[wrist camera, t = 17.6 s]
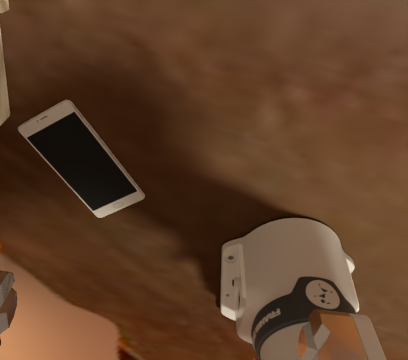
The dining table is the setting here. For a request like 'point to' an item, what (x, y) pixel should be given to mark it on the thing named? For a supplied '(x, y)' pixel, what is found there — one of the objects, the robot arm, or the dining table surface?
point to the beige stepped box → (3, 75)
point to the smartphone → (81, 159)
